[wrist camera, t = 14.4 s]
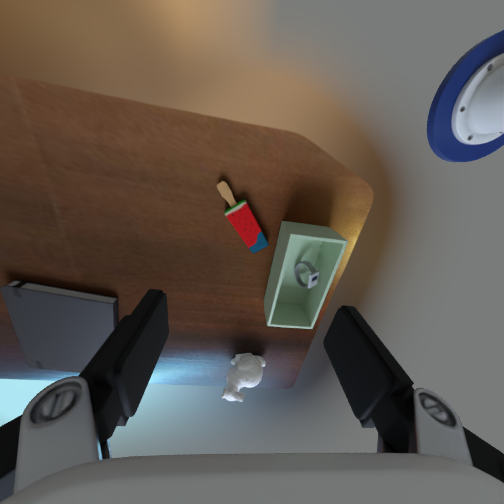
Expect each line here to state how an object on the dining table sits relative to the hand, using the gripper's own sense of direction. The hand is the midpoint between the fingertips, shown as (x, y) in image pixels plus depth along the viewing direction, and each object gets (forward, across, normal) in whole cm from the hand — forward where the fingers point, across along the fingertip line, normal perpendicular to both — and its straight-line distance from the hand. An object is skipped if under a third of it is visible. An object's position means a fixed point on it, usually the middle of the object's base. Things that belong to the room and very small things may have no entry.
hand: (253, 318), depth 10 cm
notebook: (+28, +40, +38) cm, 62 cm away
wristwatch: (+28, -13, +12) cm, 33 cm away
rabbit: (+28, -5, +46) cm, 54 cm away
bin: (+28, -13, +12) cm, 33 cm away
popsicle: (+28, 0, +2) cm, 29 cm away
